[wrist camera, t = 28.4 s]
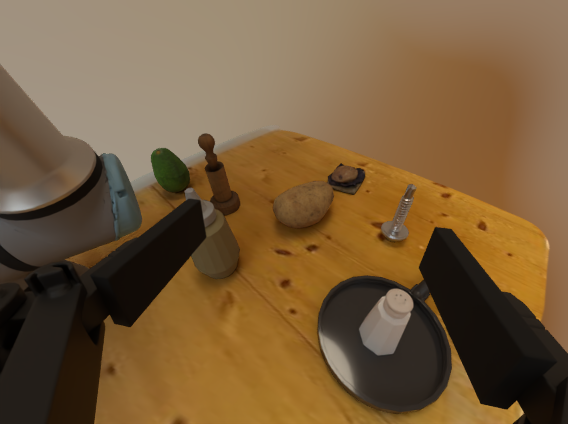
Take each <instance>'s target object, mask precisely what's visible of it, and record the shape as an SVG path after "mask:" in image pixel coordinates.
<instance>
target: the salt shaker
mask: <svg viewBox="0 0 568 424" xmlns="http://www.w3.org/2000/svg"><path fill="white" fill-rule="evenodd" d="M412 309H413V300H412V298H411V297H410V295H409V294H407V293H406V292H405V291H403V290H400V289H391V290H389V291H388V292H387V294H386V296H384V297H382V298H381V299H380V300H379V301H378V302H377V304H376V305H375V306H374V307H373V309H372V310H371V311H370V313H369V314H368V315H367V316H366V318H365V319H364V321H363V323H362V324H361V326H360V328H359V331H360V335H361V338H362V341H363V345H365V346H366V347H367V348H369V349H370V350H371V351H372V352H374V353H375V354H376V355H388V354H393V353H394V351H395V349H396V347H397V345H398V342H399V340H400V338H401V336H402V334H403V332H404V329H405V327H406V325H407V323H408V321H409V318H410V316H411V313H410V311H411V310H412Z"/></svg>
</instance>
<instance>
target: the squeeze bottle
mask: <svg viewBox="0 0 568 424" xmlns="http://www.w3.org/2000/svg"><path fill="white" fill-rule="evenodd" d="M185 196H186V200H188V199H198V200H201V198H200V197H199V196H198V194H197V193H196V192H195V190H194V189H193V188H188V189H186V190H185ZM201 206H202V212H203V218H204V224H205V231H206V239H205V240H204V241H203V242H202V243H201V244H200V246H199V247H198V248H197V249H196V250H195V252H194V253H193V254H192V255H191V257H192V259H193V262H194V264H195V266H196V267H197V269H198V270H199V271H200V272H202V273H204V274H206V275H208V276H209V277H212V278H215V279H222V278H225V277H228V276H229V275H230V274H232V273H233V272H234V270H235V269H236V267H237V262H238V257H239V251H240V249H239V246H238V243H237V241H236V239H235V237H234V235H233V233H232V231H231V229H230V227H229V225H228V223H227V221H226V219H225V217H224V215H223V213H221V212H220V211H219V210H216V209H215V208H214V206H213V204H212V203H211V202H210V201H206V200H201Z"/></svg>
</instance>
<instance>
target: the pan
mask: <svg viewBox="0 0 568 424" xmlns="http://www.w3.org/2000/svg"><path fill="white" fill-rule="evenodd" d="M391 289H400V290H403V291H405V292H406V293H407V294H408V292H409V291H410V289H408V288H406V287H404V286H402V285H401V284H399V283H397V282H395V281H392V280H388V279H385V278H382V277H376V276H358V277H352V278H350V279H347V280H345V281H342V282H340V283H339V284H338V285H337V286H335V287H334V288H333V289H331V291H330V292H329V293H328V295H327V296H326V298H325V299H324V301H323V303H322V306H321V309H320V312H319V317H318V340H319V345H320V350H321V353H322V356H323V358H324V361H325V363H326V365H327V367H328V369H329V370H330V372H331V373H332V375H333V377H334V378H335V379H336V380H337V382H338V383H339V384H340V385H341V386H342V387H343V388H344V389H345V390H346V391H347V392H348V393H349V394H350V395H351V396H353V397H354V398H355V399H357V400H358V401H360V402H362V403H363V404H365V405H367V406H369V407H371V408H374V409H376V410H379V411H383V412H387V413H395V414H400V413H408V412H415V411H418V410H420V409H422V408H424V407H426V406H427V405H429V404H431V403H433V402H434V401H436V400H437V399H438V398H439V396H440V395H441V393H442V392H443V391H444V389H445V388H446V387H447V384H448V380H449V377H450V373H451V369H452V363H451V348H450V345H449V342H448V339H447V336H446V332H445V330H444V328H443V327H442V325H441V323H440V321H439V320H438V318H437V316H436V314H435V313H434V312H433V311H432V310H431V309H430V307H429V306H428V305H427V304H426V303H425V302H424V301H423V300H422V299H418V298H416V299H418V300H419V301H420V302H421V303H420V305H419V304H418V303H417V301H416V302H415V301H414V300H413V299H412V300H413V309H412V310H411V311H410V313H411V316H410V318H409V321H408V323H407V325H406V327H405V329H404V332H403V334H402V336H401V338H400V340H399V342H398V345H397V347H396V349H395V351H394V353H393V354H388V355H376V354H375V353H374V352H372V351H371V350H370V349H369V348H367V347H366V346H365V345H363V341H362V338H361V335H360V331H359V328H360V326H361V324H362V323H363V321H364V319H365V318H366V316H367V315H368V314H369V313H370V311H371V310H372V309H373V307H374V306H375V305H376V304H377V302H378V301H379V300H380V299H381V298H382V297H384V296H386V294H387V292H388V291H389V290H391ZM409 293H410V294H411V293H412V292H411V291H410V292H409ZM410 294H409V295H410ZM411 295H413V293H412V294H411ZM416 303H417V304H416Z"/></svg>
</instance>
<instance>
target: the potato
mask: <svg viewBox="0 0 568 424" xmlns="http://www.w3.org/2000/svg"><path fill="white" fill-rule="evenodd" d="M333 198H334V194H333V188H332V186H330V185H329V184H327V183H326V182H324V181H313V182H310V183H306V184H302V185H299V186H296V187H293V188H291V189H289V190H287V191H285V192H284V193H282V194H281V195H279V196H278V197H276V199H275V201H274V205H273V211H274V213H275V215H276V218H277V219H278V220H279V221H280V222H282V223H283V224H285V225H286V226H288V227H293V228H304V227H307V226H311V225H313V224H316V223H318V222H319V221H320V220H321V219H322V218H323V217H324V215H325V213H326V212H327V210H328V208H329V207H330V205H331V203H332V201H333Z"/></svg>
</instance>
